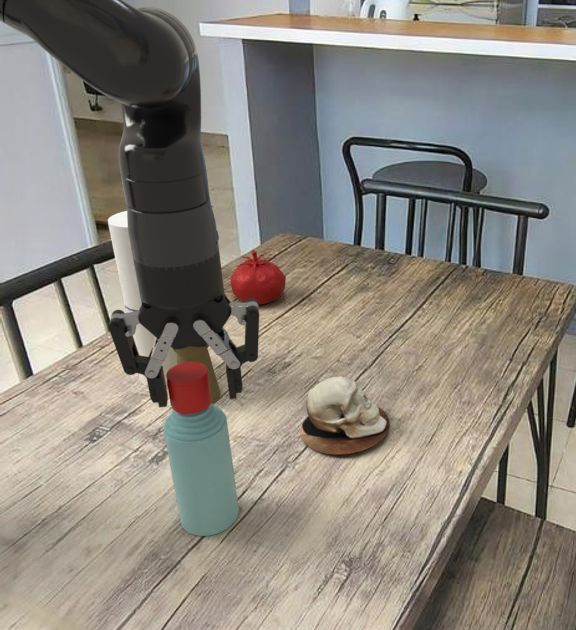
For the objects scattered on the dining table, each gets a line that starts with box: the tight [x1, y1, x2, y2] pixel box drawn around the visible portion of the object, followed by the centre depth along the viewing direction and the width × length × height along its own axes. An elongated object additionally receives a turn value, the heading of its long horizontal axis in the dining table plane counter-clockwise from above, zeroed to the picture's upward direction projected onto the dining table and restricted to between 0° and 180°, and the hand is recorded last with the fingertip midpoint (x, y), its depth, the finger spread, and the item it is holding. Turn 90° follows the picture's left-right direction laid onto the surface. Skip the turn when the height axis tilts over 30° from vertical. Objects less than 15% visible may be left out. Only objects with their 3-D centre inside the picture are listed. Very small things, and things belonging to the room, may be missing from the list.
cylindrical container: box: [107, 210, 177, 388], centre depth 97 cm, size 7×7×25 cm
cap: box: [166, 362, 213, 414], centre depth 70 cm, size 4×4×4 cm
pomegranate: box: [230, 250, 287, 305], centre depth 125 cm, size 10×10×9 cm
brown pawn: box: [174, 344, 222, 404], centre depth 96 cm, size 6×6×11 cm
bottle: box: [162, 403, 240, 537], centre depth 73 cm, size 6×6×18 cm
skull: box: [299, 375, 391, 455], centre depth 92 cm, size 12×10×10 cm
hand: (199, 398), depth 70 cm, fingers open, 6 cm apart
